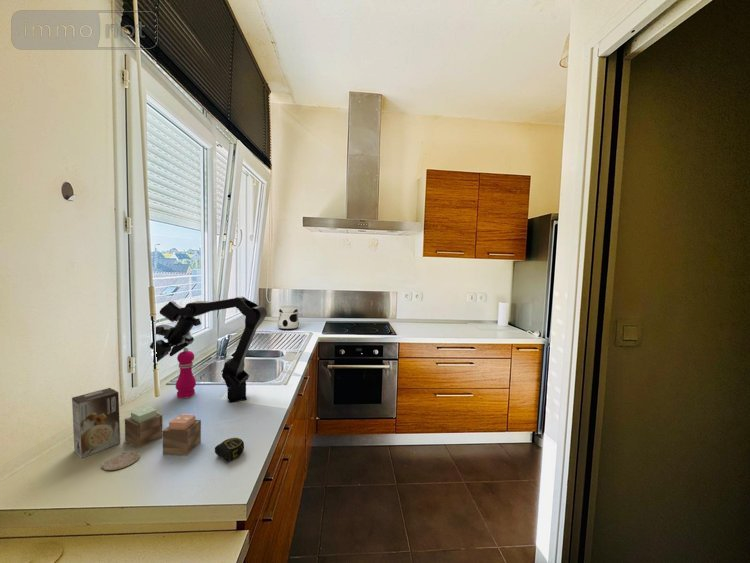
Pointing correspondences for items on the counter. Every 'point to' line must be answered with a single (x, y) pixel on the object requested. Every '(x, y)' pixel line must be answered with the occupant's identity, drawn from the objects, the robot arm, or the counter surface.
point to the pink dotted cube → (182, 422)
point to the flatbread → (121, 461)
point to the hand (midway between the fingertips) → (162, 359)
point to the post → (143, 431)
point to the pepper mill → (185, 375)
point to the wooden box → (181, 439)
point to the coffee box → (95, 421)
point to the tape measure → (230, 449)
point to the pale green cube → (143, 414)
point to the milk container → (288, 317)
